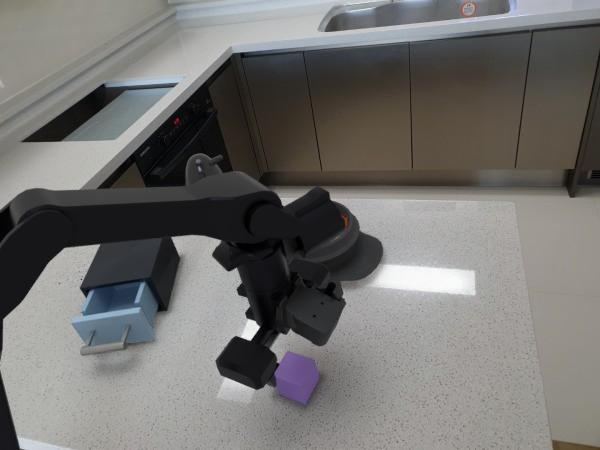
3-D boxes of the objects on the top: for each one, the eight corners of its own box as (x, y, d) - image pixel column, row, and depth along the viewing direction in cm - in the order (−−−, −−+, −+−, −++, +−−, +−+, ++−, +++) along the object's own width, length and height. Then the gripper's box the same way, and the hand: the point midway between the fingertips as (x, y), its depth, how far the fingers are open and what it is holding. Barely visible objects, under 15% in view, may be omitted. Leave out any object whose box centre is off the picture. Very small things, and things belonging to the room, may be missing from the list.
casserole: (396, 236, 89) (394, 201, 84) (364, 306, 76) (359, 269, 71) (282, 219, 99) (274, 187, 94) (238, 278, 87) (226, 244, 82)
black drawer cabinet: (167, 310, 83) (150, 276, 78) (100, 321, 84) (79, 288, 79) (180, 257, 95) (166, 225, 90) (121, 267, 96) (104, 235, 90)
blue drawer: (148, 363, 73) (131, 335, 69) (79, 373, 74) (59, 346, 70) (168, 283, 88) (156, 256, 84) (111, 292, 88) (96, 266, 84)
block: (305, 404, 64) (299, 386, 61) (277, 393, 66) (271, 375, 63) (319, 378, 67) (315, 359, 64) (292, 368, 69) (287, 350, 66)
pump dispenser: (236, 223, 101) (217, 163, 92) (190, 229, 102) (167, 171, 93) (241, 197, 109) (224, 140, 100) (199, 203, 110) (178, 147, 101)
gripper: (285, 359, 43) (311, 443, 52) (361, 237, 55) (371, 323, 65) (195, 327, 48) (232, 408, 58) (282, 222, 60) (302, 303, 70)
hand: (289, 357), depth 62 cm, fingers open, 9 cm apart
